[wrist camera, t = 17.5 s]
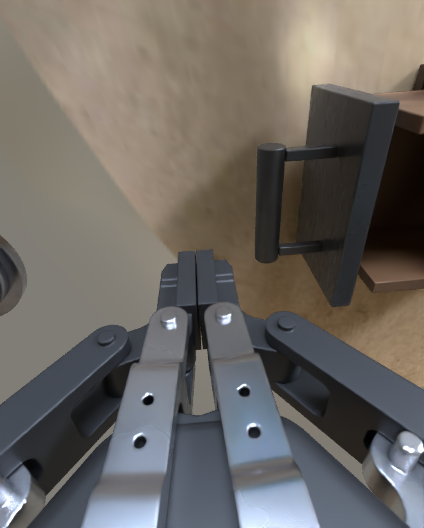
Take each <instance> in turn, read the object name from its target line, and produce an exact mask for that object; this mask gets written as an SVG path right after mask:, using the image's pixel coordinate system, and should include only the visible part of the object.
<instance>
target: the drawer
mask: <svg viewBox="0 0 424 528" xmlns="http://www.w3.org/2000/svg"><path fill="white" fill-rule="evenodd" d="M301 160H304V168H303V178H302V187H301V197H300V207H299V216H298V226H297V236H296V242H292V243H280V244H279V237H280V222H281V208H282V193H283V179H284V165H285V161H286V162H289V161H301ZM278 254H279V256H282V255H293V254H302V256H303V257H304V259H305V261H306V263H307V264H308V266H309V268H310V270H311V272H312V273H313V275H314V277H315V279H316V280H317V282H318V284H319V286H320V288H321V289H322V291H323V293H324V295H325V296H326V298H327V300H328V302H329V304H330V305H331V307H340V306H349V305H350V303H351V299H352V295H353V291H354V287H355V283H356V278H357V274H358V275H359V276H360V278H361V279H362V280H363V282H364V283H365V284H366V286H367V287H368V288H369V290H370V291H371V292H372V293H379V292H390V291H401V290H412V289H423V288H424V90H416V91H403V92H390V93H377V94H369V93H365V92H361V91H357V90H353V89H349V88H345V87H341V86H337V85H333V84H321V85H313V86H312V91H311V101H310V110H309V120H308V130H307V139H306V146H304V147H291V148H286V147H285V145H283V144H279V143H266V144H261V145H259V146H257V166H256V217H255V259H256V260H257V261H259V262H261V263H273V262H275V261H276V260H277V259H278Z"/></svg>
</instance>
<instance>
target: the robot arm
mask: <svg viewBox="0 0 424 528" xmlns="http://www.w3.org/2000/svg"><path fill="white" fill-rule="evenodd" d="M196 257H197V264H196ZM7 290H8V281H7V277H6V274H5V272H4V270H3V268H2V266H1V265H0V304H1V302H2V301H3V299H4V298H5V296H6V294H7ZM200 327H201V328H200ZM201 336H202V345H203V349H207V351H208V361H209V370H210V376H211V383H212V390H213V396H214V403H215V411H212V412H209V413H206V414H203V415H192V406H193V393H194V379H195V361H196V350H201ZM271 389H272V390H273V391H274V392H275V393H277V394H278V395H279V396H280V397H282V398H283V399H284V400H285V401H286V402H288V403H289V404H290V405H291V406H292V407H294V408H295V409H296V410H297V411H298V412H300V413H301V414H302V415H303V416H304V417H306V418H307V419H308V420H309V421H310V422H312V423H313V424H314V425H315V426H317V427H318V428H319V429H320V430H321V431H322V432H324V433H325V434H326V435H327V436H329V437H330V438H331V439H332V440H334V441H335V442H336V443H337V444H338V445H339V446H341V447H342V448H343V449H344V450H345V451H347V452H348V453H349V454H350V455H351V456H353V457H354V458H355V459H356V460H358V461H359V462H360V463H361V464H362V471H363V476H364V479H365V481H366V483H367V485H368V487H369V488H370V490H371V491H372V492H373V493H374V494H373V493H372V492H371V491H370V490H369V489H368V488H367V487H366V486H365V485H364V484H363V483H361V482H360V481H359V480H358V479H357V478H356V477H355V476H354V475H353V474H351V473H350V472H349V471H348V470H347V469H346V468H345V467H344V466H343V465H342V464H341V463H340V462H339V461H337V460H336V459H335V458H334V457H333V456H332V455H331V454H330V453H329V452H327V450H325V449H324V448H323V447H322V446H321V445H320V444H319V443H318V442H317V441H316V440H315V439H313V438H312V437H311V436H310V435H309V434H308V433H307V432H306V431H304V429H302V428H301V427H300V426H298V425H297V424H295V423H294V422H292V421H290V420H289V419H287V418H284V417H282V416H280V414H279V411H278V408H277V405H276V402H275V399H274V396H273V393H272V390H271ZM82 397H83V398H82ZM115 421H116V423H115V426H114V430H113V434H112V435H110V436H109V437H108V438H106V439H105V440H104V441H103V442H102V443H101V444H100V445H99V446H98V447H97V448H96V449H95V450H94V451H93V452H92V454H90V456H89V457H88V458H87V459H86V460H85V461H84V462H83V464H82V465H81V466H80V467H79V468H78V469H77V471H76V472H75V473H74V474H73V475H72V476H71V477H70V478H69V480H68V481H67V482H66V483H65V484H64V485H63V486H62V488H61V489H60V490H59V491H58V492H57V493H56V494H55V496H54V497H53V498H52V499H51V500H50V501H49V502H48V504H47V505H46V506H45V499H46V495H47V494H48V493H49V492H50V491H51V490H52V489H53V487H54V486H55V485H56V484H57V483H58V482H59V481H60V480H61V479H62V478H63V477H64V476H65V475H66V474H67V473H68V471H69V470H70V469H71V468H72V467H73V466H74V465H75V464H76V463H77V462H78V461H79V460H80V459H81V458H82V457H83V456H84V455H85V453H86V452H87V451H88V450H89V449H90V448H91V447H92V446H93V445H94V444H95V443H96V442H97V440H99V439H100V437H101V436H102V435H103V434H104V433H105V432H106V431H107V430H108V429H109V428H110V427H111V426H112V425H113V424H114V422H115ZM44 506H45V507H44ZM0 528H424V390H423V389H422V388H420V387H418V386H417V385H415V384H413V383H412V382H410V381H408V380H407V379H405V378H403V377H402V376H400V375H398V374H397V373H395V372H393V371H391V370H390V369H388V368H386V367H385V366H383V365H381V364H380V363H378V362H376V361H375V360H373V359H371V358H370V357H368V356H366V355H365V354H363V353H361V352H360V351H358V350H356V349H355V348H353V347H351V346H350V345H348V344H346V343H345V342H343V341H341V340H340V339H338V338H336V337H334V336H333V335H331V334H329V333H328V332H326V331H324V330H323V329H321V328H319V327H318V326H316V325H314V324H313V323H311V322H309V321H308V320H306V319H304V318H303V317H301V316H299V315H297V314H295V313H292V312H287V311H280V312H276V313H273V314H272V315H270V316H269V317H268V318H267V320H264V319H258V318H254V317H251V316H249V315H247V314H246V313H244V312H243V311H242V310H241V308H240V306H239V302H238V297H237V292H236V286H235V282H234V276H233V271H232V266H231V265H230V264H229V263H228V262H227V260H226V259H224V260H214V257H213V249H208V250H196V254H195V251H184V252H178V263H176V264H167V265H166V267H165V268H164V269H163V271H162V274H161V281H160V290H159V297H158V305H157V311H156V312H155V313H154V314H153V315H152V316H151V318H150V321H149V323H148V324H147V325H145V326H143V327H141V328H139V329H136V330H133V331H130V332H127V331H126V329H125V328H123V327H121V326H118V325H108V326H104V327H102V328H99V329H97V330H96V331H94V332H93V333H92V334H90V335H89V336H88V337H87V338H85V339H84V340H83V341H81V342H80V343H79V344H78V345H76V346H75V347H74V348H72V349H71V350H70V351H69V352H67V354H65V355H63V356H62V357H61V358H60V359H58V360H57V361H56V362H55V363H53V364H52V365H51V366H49V367H48V368H47V369H46V370H44V371H43V372H42V373H40V374H39V375H38V376H37V377H35V378H34V379H33V380H31V381H30V382H29V383H28V384H26V385H25V386H24V387H22V388H21V389H20V390H19V391H17V392H16V393H15V394H14V395H12V396H11V397H10V398H8V399H7V400H6V401H4V402H3V403H2V404H1V405H0Z"/></svg>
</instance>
